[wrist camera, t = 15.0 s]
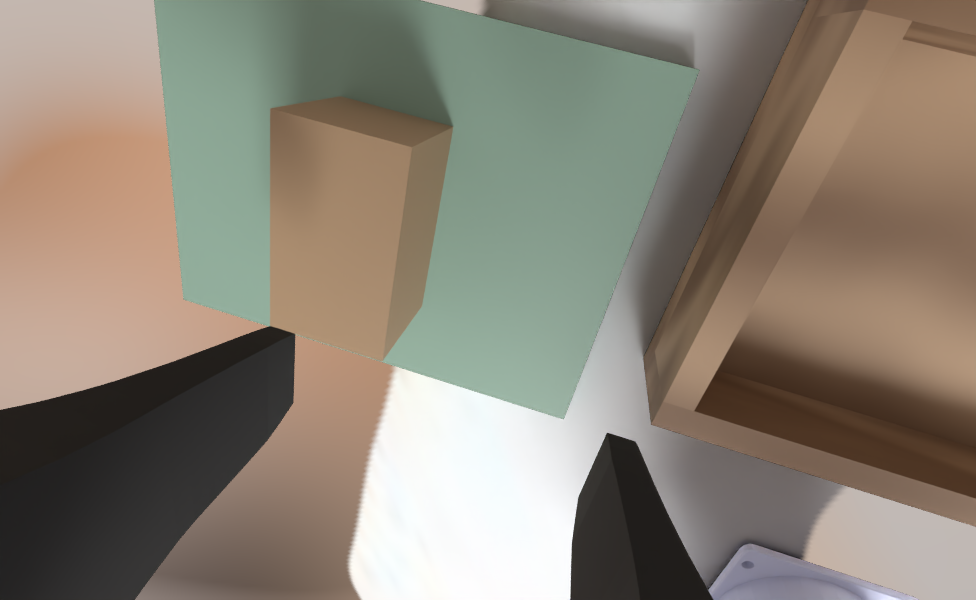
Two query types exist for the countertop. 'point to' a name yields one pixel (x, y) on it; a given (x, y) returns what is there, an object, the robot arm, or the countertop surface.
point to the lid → (412, 180)
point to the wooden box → (843, 265)
